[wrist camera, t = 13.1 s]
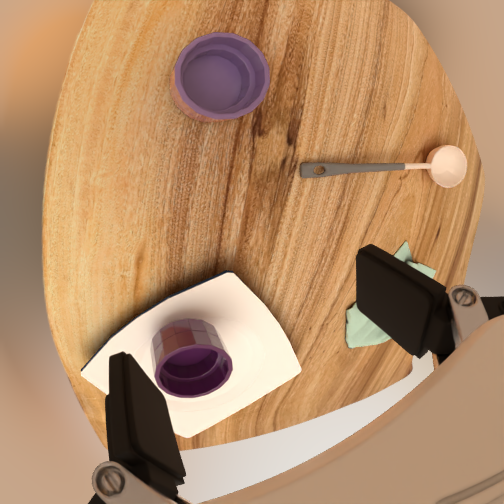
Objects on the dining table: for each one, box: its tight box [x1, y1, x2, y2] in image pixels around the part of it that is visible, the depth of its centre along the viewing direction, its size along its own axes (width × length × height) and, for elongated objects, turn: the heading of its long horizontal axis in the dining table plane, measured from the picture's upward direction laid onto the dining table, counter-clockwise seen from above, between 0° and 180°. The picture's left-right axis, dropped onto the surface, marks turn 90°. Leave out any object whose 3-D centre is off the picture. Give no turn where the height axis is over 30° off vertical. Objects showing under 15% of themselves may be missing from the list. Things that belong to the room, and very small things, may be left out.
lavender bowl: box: [170, 32, 270, 122], centre depth 17 cm, size 7×7×4 cm
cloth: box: [345, 241, 436, 349], centre depth 39 cm, size 20×22×2 cm
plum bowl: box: [150, 318, 233, 398], centre depth 22 cm, size 7×7×4 cm
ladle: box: [300, 145, 467, 188], centre depth 28 cm, size 6×28×5 cm, turn 95°
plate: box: [81, 270, 301, 438], centre depth 28 cm, size 20×20×3 cm
